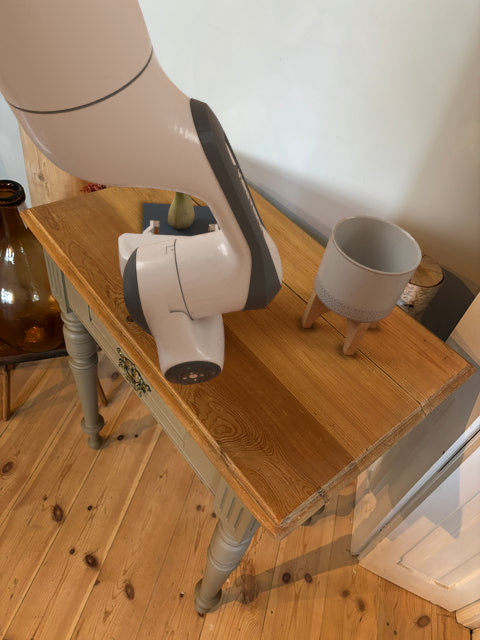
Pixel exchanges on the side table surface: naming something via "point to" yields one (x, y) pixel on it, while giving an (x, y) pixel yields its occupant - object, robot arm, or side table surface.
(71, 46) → the robot arm
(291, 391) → the side table surface
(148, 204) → the mat
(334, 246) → the planter
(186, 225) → the fennel bulb
